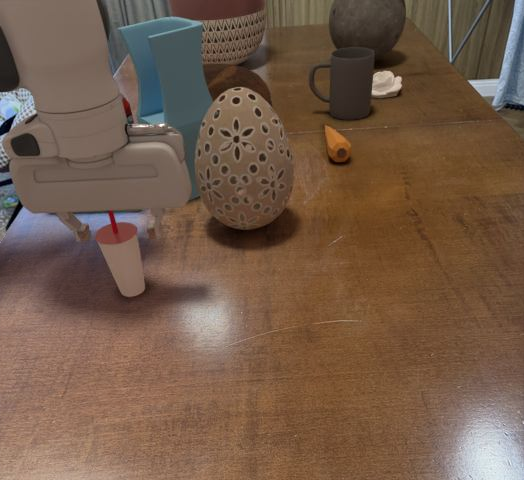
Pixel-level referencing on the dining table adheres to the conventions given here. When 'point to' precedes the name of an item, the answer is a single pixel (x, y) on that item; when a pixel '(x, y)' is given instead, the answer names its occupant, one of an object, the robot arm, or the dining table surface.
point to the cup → (122, 255)
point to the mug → (348, 82)
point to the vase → (171, 79)
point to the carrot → (337, 145)
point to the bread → (233, 80)
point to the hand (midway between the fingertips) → (120, 238)
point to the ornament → (243, 161)
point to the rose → (385, 84)
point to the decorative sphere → (367, 24)
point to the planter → (225, 27)
